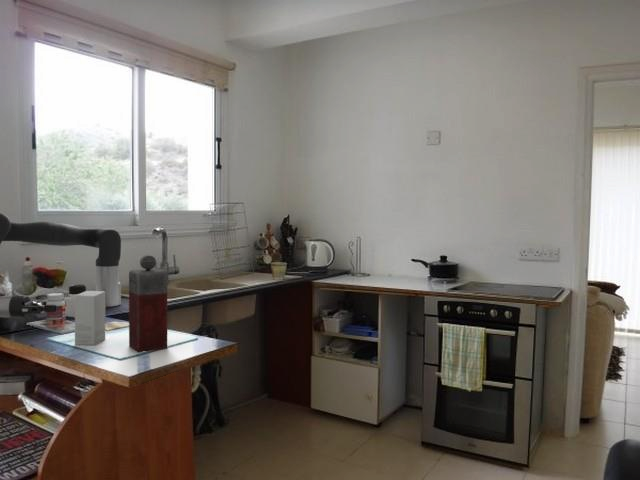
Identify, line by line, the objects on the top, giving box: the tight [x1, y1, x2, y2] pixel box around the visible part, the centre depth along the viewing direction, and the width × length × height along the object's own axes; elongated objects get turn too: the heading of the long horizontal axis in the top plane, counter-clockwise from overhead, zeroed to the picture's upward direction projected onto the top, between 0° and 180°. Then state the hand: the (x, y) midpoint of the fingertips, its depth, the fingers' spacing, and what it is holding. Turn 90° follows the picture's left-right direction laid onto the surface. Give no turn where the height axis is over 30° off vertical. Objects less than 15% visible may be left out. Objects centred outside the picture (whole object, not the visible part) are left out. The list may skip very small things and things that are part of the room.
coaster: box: [105, 320, 129, 332], centre depth 185 cm, size 10×10×1 cm
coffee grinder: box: [128, 254, 168, 353], centre depth 158 cm, size 9×11×28 cm
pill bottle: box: [45, 292, 67, 327], centre depth 184 cm, size 6×6×11 cm
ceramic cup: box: [270, 261, 288, 280], centre depth 323 cm, size 13×10×10 cm
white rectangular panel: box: [26, 319, 75, 335], centre depth 183 cm, size 11×22×1 cm, turn 57°
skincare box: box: [74, 290, 106, 346], centre depth 162 cm, size 8×7×16 cm
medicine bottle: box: [63, 284, 87, 319], centre depth 202 cm, size 7×7×12 cm
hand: (61, 306), depth 184 cm, fingers open, 8 cm apart
